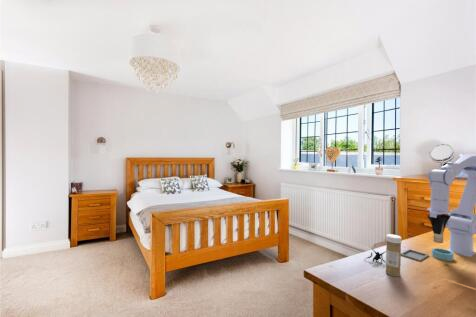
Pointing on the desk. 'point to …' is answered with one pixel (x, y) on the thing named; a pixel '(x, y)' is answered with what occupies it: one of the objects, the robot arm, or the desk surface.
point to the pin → (439, 236)
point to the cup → (442, 254)
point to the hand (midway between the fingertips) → (438, 232)
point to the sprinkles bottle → (393, 254)
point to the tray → (414, 255)
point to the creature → (377, 256)
